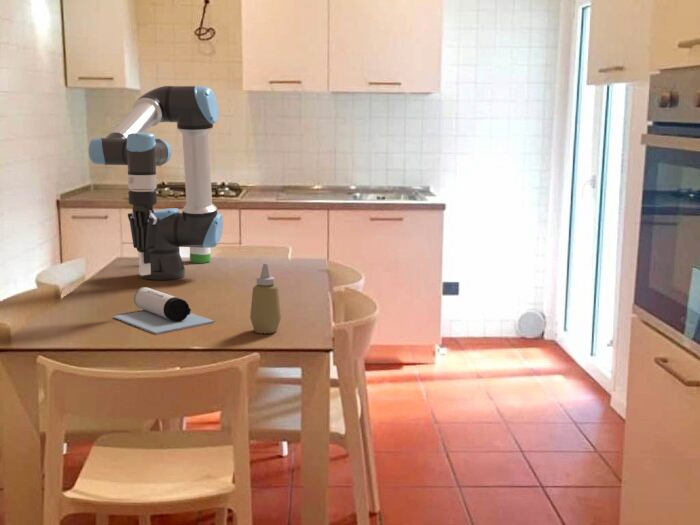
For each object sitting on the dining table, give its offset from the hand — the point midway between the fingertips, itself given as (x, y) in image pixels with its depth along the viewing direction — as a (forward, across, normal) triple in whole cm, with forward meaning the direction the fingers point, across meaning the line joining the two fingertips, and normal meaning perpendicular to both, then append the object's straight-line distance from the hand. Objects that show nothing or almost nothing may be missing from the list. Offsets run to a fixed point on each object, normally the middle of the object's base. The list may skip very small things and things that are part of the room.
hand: (145, 274), depth 221 cm
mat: (+11, +9, 0) cm, 15 cm away
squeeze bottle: (+12, +36, +14) cm, 40 cm away
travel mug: (+8, -5, +2) cm, 9 cm away
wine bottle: (+12, -57, +57) cm, 81 cm away
